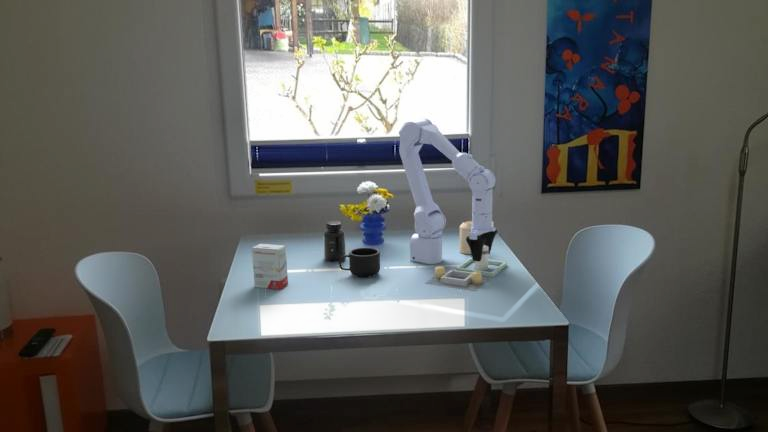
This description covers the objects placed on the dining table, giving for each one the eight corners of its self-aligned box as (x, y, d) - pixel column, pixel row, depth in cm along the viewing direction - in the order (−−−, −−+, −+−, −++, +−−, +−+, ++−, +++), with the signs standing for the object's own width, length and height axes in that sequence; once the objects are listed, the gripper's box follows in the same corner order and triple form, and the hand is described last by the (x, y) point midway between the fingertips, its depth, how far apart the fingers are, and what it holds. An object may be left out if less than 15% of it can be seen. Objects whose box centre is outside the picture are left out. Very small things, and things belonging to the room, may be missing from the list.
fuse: (472, 270, 209) (472, 248, 207) (476, 266, 212) (477, 244, 211) (485, 272, 207) (486, 249, 205) (490, 268, 211) (490, 245, 209)
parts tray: (455, 274, 208) (455, 268, 207) (470, 263, 218) (470, 257, 217) (493, 280, 202) (493, 273, 202) (506, 268, 212) (506, 262, 212)
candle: (476, 254, 226) (476, 224, 224) (458, 254, 227) (459, 223, 225) (477, 249, 232) (477, 220, 229) (460, 249, 233) (460, 219, 230)
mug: (377, 268, 214) (376, 246, 213) (382, 278, 206) (382, 254, 204) (338, 272, 212) (337, 249, 211) (341, 281, 204) (341, 258, 202)
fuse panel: (424, 286, 198) (424, 272, 197) (442, 274, 208) (442, 261, 207) (475, 294, 191) (475, 280, 190) (490, 281, 201) (491, 267, 200)
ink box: (289, 284, 202) (286, 244, 199) (281, 290, 198) (278, 249, 195) (262, 281, 205) (259, 242, 202) (253, 287, 200) (251, 247, 198)
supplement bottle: (320, 261, 223) (318, 224, 220) (330, 255, 229) (328, 219, 226) (340, 263, 220) (338, 226, 217) (349, 257, 226) (348, 220, 224)
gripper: (486, 219, 198) (485, 265, 201) (503, 208, 210) (502, 252, 213) (462, 216, 201) (462, 262, 204) (481, 206, 213) (480, 249, 216)
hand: (481, 257), depth 209 cm, fingers open, 7 cm apart
